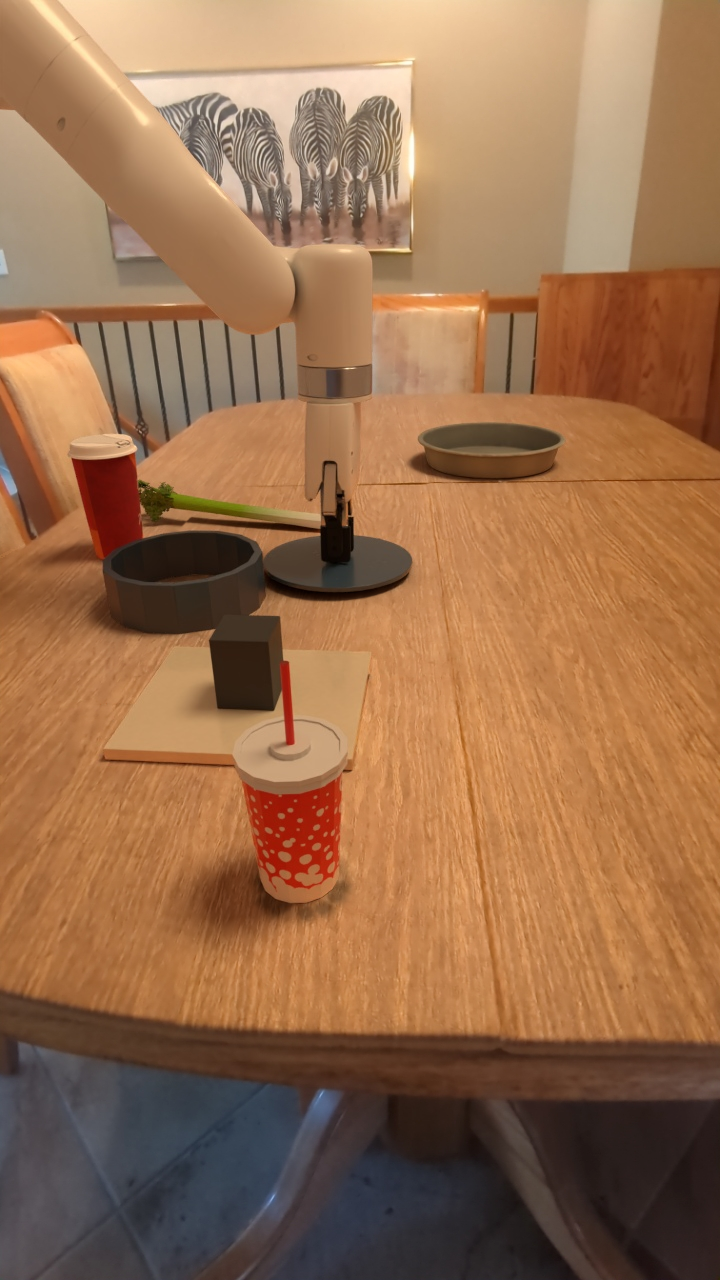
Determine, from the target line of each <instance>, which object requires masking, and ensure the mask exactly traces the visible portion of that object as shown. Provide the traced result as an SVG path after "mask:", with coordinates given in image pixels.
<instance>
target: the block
mask: <svg viewBox="0 0 720 1280" xmlns="http://www.w3.org/2000/svg"><path fill="white" fill-rule="evenodd" d="M281 623H282V622H281V616H280V615H256V614H255V615H254V614H250V615H224V616H223V618H222V620H221V621H220V623H219V624H218V626H217V628H216V629H214V630H213V632H212V634H211V636H210V638H209V639H208V644H209V647H210V653H211V661H212V669H213V677H214V685H215V693H216V701H217V708H218V709H240V710H267V711H274V710H275V707H276V704H277V702H278V699H279V696H280V694H281V691H282V685H281V672H280V662H281V661H283V649H284V648H283V636H282V624H281Z"/></svg>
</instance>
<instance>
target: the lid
mask: <svg viewBox="0 0 720 1280" xmlns="http://www.w3.org/2000/svg"><path fill="white" fill-rule="evenodd" d="M263 566H264V573H266V575H267V576H268V577H269V578H271V579H272V580H274V581H275V582H277V583H279V584H282V585H285V586H286V587H287V586H288V587H291V588H295V589H300V590H305V591H312V592H322V593H323V592H324V593H345V592H346V593H348V592H349V593H350V592H361V591H365V590H372V589H376V588H377V589H378V588H381V587H384V586H387V585H391V584H392V583H395V582H398V581H399V580H401V579H402V578H404V577H406V576H407V575H408V574H409V573H410V571H411V570H412V569H413V568H412V567H413V557H412V555H411V553H410V552H409V551H408V550H407V549H406V548H405V547H403V546H401V545H399V544H397V543H395V542H392V541H389V540H386V539H381V538H378V537H374V536H373V537H372V536H366V535H357V534H354V549H353V551H352V552H351V559H350V561H349V562H347V563H346V562H324V561H322V560H321V537H320V535H315V536H308V537H301V538H298V539H293V540H290V541H287V542H284V543H282V544H280V545H278V546H275V547H274V548H272V549H271V550H270V551H268V552H267V554H266V555H265V556H264V557H263Z"/></svg>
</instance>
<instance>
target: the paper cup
mask: <svg viewBox="0 0 720 1280" xmlns="http://www.w3.org/2000/svg"><path fill="white" fill-rule="evenodd" d="M133 440H134V439H133V438H132V437H131V436H130V435H128V434H122V433H102V434H100V433H99V434H92V435H85V436H81V437H78V438H75V439H73V440H71V441H70V443H69V450H68V451H67V453H66V454H67V457H69V458H70V459H71V463H72V466H73V471H74V475H75V478H76V482H77V486H78V490H79V494H80V498H81V502H82V506H83V510H84V514H85V517H86V522H87V525H88V529H89V533H90V537H91V541H92V544H93V548H94V552H95V555H96V557H97V558H98V559H99V560H103V559H104V558H106V557H107V556H108V555H109V554H110V553H111V552H112V551H113V550H115V549H116V548H119V547H121V546H123V545H126V544H128V543H130V542H133V541H135V540H138V539H142V538H144V529H143V521H142V519H143V518H142V510H141V509H142V507H141V504H140V498H139V493H140V492H139V489H140V488H138V480H139V478H138V470H137V458H136V452H137V451H138V447H137V446H136V444H134V441H133Z"/></svg>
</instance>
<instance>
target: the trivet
mask: <svg viewBox="0 0 720 1280" xmlns="http://www.w3.org/2000/svg"><path fill="white" fill-rule="evenodd" d="M372 658H373V652H372V651H363V650H362V651H361V650H360V651H359V650H358V651H357V650H328V649H327V650H326V649H325V650H324V649H323V650H322V649H321V650H320V649H293V648H292V649H290V648H289V649H286V648H283V661H289V666H290V680H291V694H292V708H293V716H294V715H306V716H311V717H316V718H321V719H325V720H327V721H328V722H330V723H332V724H334V725H336V726H338V727H339V728H340V729H341V730H342V732H343V733H344V734H345V736H346V737H347V742H348V756H347V765H346V767H345V768H344V770H343V771H353V769H354V765H355V759H356V753H357V748H358V742H359V736H360V731H361V725H362V720H363V713H364V710H365V709H364V708H365V704H366V699H367V691H368V686H369V680H370V675H371V674H370V670H371V664H372ZM281 716H284V711H283V698H282V691H281V694H280V696H279V699H278V702H277V704H276V707H275V710H274V711H267V710H240V709H218V708H217V701H216V693H215V685H214V677H213V669H212V661H211V653H210V646H187V645H184V646H183V645H174V646H172V648H171V649H170V650H169V652H168V654H167V655H166V656H165V658H164V660H163V661H162V662H161V664H160V665H159V667H158V668H157V670H156V671H155V673H154V674H153V675H152V677H151V678H150V680H148V682H147V684H146V686H145V687H143V689H142V691H141V692H140V694H139V695H138V697H137V698H136V700H135V702H134V703H133V704H132V706H131V707H130V709H129V710H128V712H127V713H126V714H125V716H124V717H123V719H122V720H121V722H119V724H118V726H117V727H116V729H115V731H114V732H113V733H112V735H111V736H110V738H109V739H108V740H107V742H106V743H105V744H104V746H103V748H102V751H103V755H104V759H105V760H110V761H131V762H153V763H154V762H155V763H156V762H157V763H158V762H159V763H176V764H202V765H223V766H235V762H234V760H233V755H232V754H233V750H234V745H235V741H236V740H237V739H238V738H239V737H240V736H241V735H242V734H243V733H244V732H245V730H247V729H248V728H250V727H252V726H254V725H256V724H258V723H260V722H262V721H264V720H268V719H272V718H276V717H281Z"/></svg>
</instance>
